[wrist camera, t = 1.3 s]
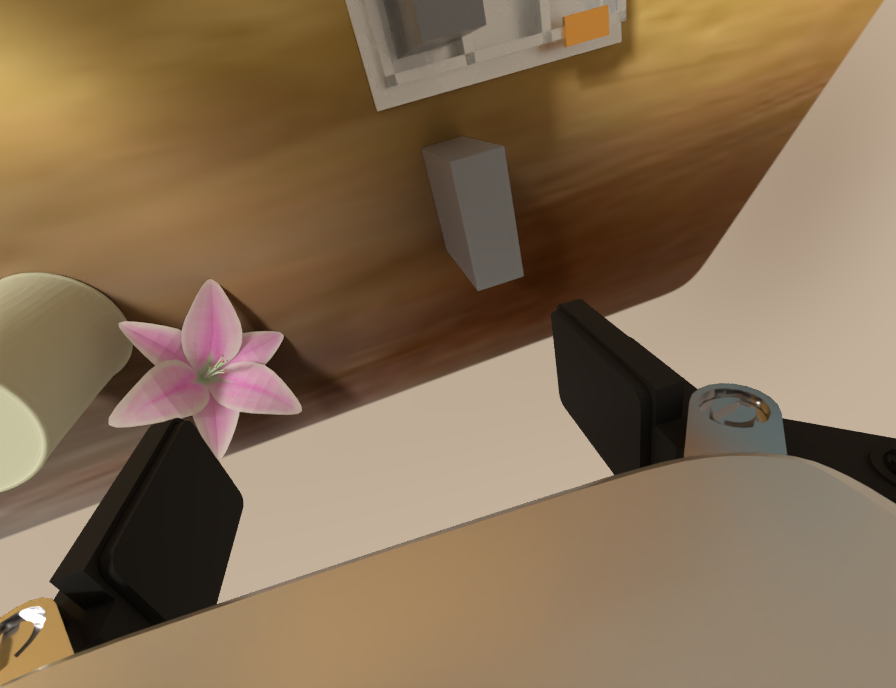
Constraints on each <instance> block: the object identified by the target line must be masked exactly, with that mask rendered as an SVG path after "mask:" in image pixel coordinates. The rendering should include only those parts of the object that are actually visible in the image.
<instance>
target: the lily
mask: <svg viewBox="0 0 896 688" xmlns="http://www.w3.org/2000/svg"><path fill="white" fill-rule="evenodd" d="M119 328H120V329H121V331H122V332H123V333H124V335H125V336H126V337H127V338H128V339H129V340H130V341H131V342H132V343H133V345H134V346H135V347H136V348H137V349H138V350H139V351H140V352H141V353H142V354H143V355H144V356H145V357H146V358H148V359H149V360H150V361H151V362H152V363H153V364H154V365H155V366H154V367H153V368H152V369H151V370H149V371H148V372H147V373H146V374H145V375H144V376H143V377H142V378H141V379H140V380H139V381H138V383H137V384H136V385H135V386H134V387H133V388H132V389H131V390H130V391H129V392H128V393H127V394H126V396H125V397H124V398H123V399H122V400H121V402H120V403H119V404H118V405H117V406H116V408H115V409H114V411H113V412H112V414H111V416H110V417H109V425H110V426H113V427H133V426H140V425H147V424H153V423H159V422H164V421H167V420H171V419H174V418H185V417H188V416H193V419H194V421H195V424H196V426H197V428H198V430H199V432H200V434H201V436H202V438H203V439H204V441H205V442H206V443H207V445H208V446H209V448H210V449H211V451H212V452H213V454H214V455H215V456H216V458H217V459H218V460H219V459H221V458H222V457H223V456H224V454H225V452H226V450H227V448H228V446H229V444H230V441H231V439H232V437H233V434H234V431H235V428H236V425H237V421H238V417H239V412H246V413H256V414H277V415H292V414H298V413H300V412H301V411H302V409H301V405H300V403H299V401H298V399H297V398H296V397H295V395H294V394H293V392H292V391H291V390H290V389H289V387H288V386H287V385H286V384H285V383H284V382H283V381H282V379H281V378H280V377H279V376H278V375H277V374H276V373H275V372H274V371H272V370H271V369H269V368H268V367H266V366H265V365H266V363H267V362H268V361H269V360H270V359H271V358H272V356H273V355H274V353H275V352H276V351H277V349H278V347H279V346H280V344H281V342H282V340H283V338H284V335H283V334H281V333H280V332H276V331H257V332H248V333H242V329H241V324H240V321H239V319H238V317H237V314H236V312H235V310H234V308H233V306H232V304H231V302H230V300H229V299H228V297H227V295H226V294H225V292H224V291H223V289H222V288H221V287H220V285H219V284H218V283H217V282H215V281H213V280H211V279H209V280H207V281H206V282H205V283H204V284H203V286H202V287H201V289H200V290H199V292H198V294H197V296H196V298H195V300H194V302H193V304H192V306H191V308H190V310H189V312H188V314H187V316H186V318H185V321H184V324H183V327H182V330H179V329H176V328H172V327H168V326H163V325H157V324H151V323H142V322H128V321H124V322H121V323H119Z"/></svg>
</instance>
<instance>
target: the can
mask: <svg viewBox="0 0 896 688" xmlns="http://www.w3.org/2000/svg"><path fill="white" fill-rule="evenodd" d="M124 321H127V319H126V318H125V316H124V314H123V313H122V312H121V311H120V309H119V308H118V307H117V306H116V305H115V304H114V303H113V302H112V301H111V300H110V299H109V298H107V297H106V296H105V295H104V294H102V293H101V292H99V291H98V290H96V289H94V288H92V287H91V286H89V285H87V284H85V283H83V282H80V281H78V280H75V279H72V278H69V277H65V276H61V275H57V274H50V273H40V272H38V273H22V274H16V275H12V276H9V277H6V278H3V279H1V280H0V492H3V491H6V490H9V489H12V488H14V487H16V486H18V485H20V484H22V483H24V482H26V481H27V480H29V479H30V478H31V477H33V476H34V475H35V474H36V473H37V472H38V471H39V470H40V469H41V468H42V467H43V465H44V464H45V462H46V460H47V458H48V457H49V455H50V454H51V453H52V451H53V450H54V449H55V447H56V446H57V445H58V444H59V442H60V441H61V440H62V438H63V437H64V436H65V435H66V433H67V432H68V431H69V430H70V428H71V427H72V426H73V425H74V423H75V422H76V421H77V420H78V418H79V417H80V416H81V415H82V413H83V412H84V411H85V410H86V408H87V407H88V406H89V405H90V403H91V402H92V401H93V400H94V398H95V397H96V396H97V395H98V393H99V392H100V391H101V390H102V389H103V388H104V386H105V385H106V384H107V383H108V382H109V381H110V379H111V378H112V377H113V376H114V375H115V374H116V373H118V372H119V371H120V370H121V369H122V368H123V367H124V366H125V365H126V363H127V362H128V360H129V358H130V356H131V353H132V349H133V343H132V342H131V341H130V340H129V339H128V338H127V337H126V336H125V335H124V333H123V332H122V331H121V329H120V328H119V323H121V322H124Z"/></svg>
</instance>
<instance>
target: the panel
mask: <svg viewBox="0 0 896 688" xmlns="http://www.w3.org/2000/svg"><path fill="white" fill-rule="evenodd" d="M421 149H422V153H423V157H424V161H425V165H426V169H427V173H428V177H429V181H430V185H431V189H432V193H433V197H434V201H435V205H436V209H437V213H438V217H439V221H440V225H441V229H442V233H443V238H444V242H445V246H446V250H447V252H448V253H449V254H450V255H451V257H452V258H453V259H454V261H455V262H456V263H457V265H458V266H459V267H460V269H461V270H462V271H463V272H464V274H465V275H466V276H467V278H468V279H469V280H470V282H471V283H472V284H473V285H474V287H475V288H476V289H477V291H480V290H483V289H486V288H489V287H492V286H496V285H499V284H502V283H505V282H508V281H511V280H514V279H517V278H520V277H523V276H524V273H523V267H522V260H521V254H520V247H519V240H518V234H517V227H516V220H515V214H514V207H513V201H512V194H511V187H510V181H509V174H508V167H507V161H506V154H505V147H504V146H502V145H498V144H494V143H490V142H486V141H482V140H478V139H474V138H470V137H466V136H460V137H457V138H454V139H450V140H447V141H443V142H440V143H437V144H433V145H430V146H426V147H423V148H421Z"/></svg>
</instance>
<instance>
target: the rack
mask: <svg viewBox="0 0 896 688" xmlns="http://www.w3.org/2000/svg"><path fill="white" fill-rule="evenodd" d="M345 3H346V7H347V10H348V14H349V17H350V21H351V24H352V28H353V31H354V35H355V38H356V42H357V45H358V48H359V52H360V55H361V59H362V62H363V66H364V69H365V73H366V76H367V80H368V83H369V87H370V90H371V94H372V97H373V101H374V104H375V107H376V111H377V112H378V111H381V110H385V109H388V108H392V107H395V106H399V105H402V104H406V103H409V102H413V101H416V100H420V99H423V98H427V97H430V96H434V95H437V94H441V93H444V92H448V91H451V90H455V89H458V88H462V87H465V86H469V85H472V84H476V83H479V82H483V81H486V80H490V79H493V78H497V77H500V76H504V75H507V74H511V73H514V72H518V71H521V70H525V69H528V68H532V67H535V66H539V65H542V64H546V63H549V62H553V61H556V60H560V59H563V58H567V57H570V56H574V55H577V54H581V53H584V52H588V51H591V50H595V49H599V48H602V47H606V46H609V45H613V44H616V43H620V42H622V32H621V22H623V21H626V0H345Z"/></svg>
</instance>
